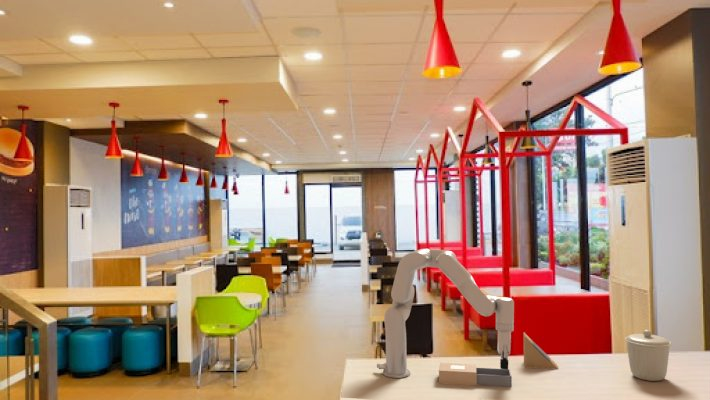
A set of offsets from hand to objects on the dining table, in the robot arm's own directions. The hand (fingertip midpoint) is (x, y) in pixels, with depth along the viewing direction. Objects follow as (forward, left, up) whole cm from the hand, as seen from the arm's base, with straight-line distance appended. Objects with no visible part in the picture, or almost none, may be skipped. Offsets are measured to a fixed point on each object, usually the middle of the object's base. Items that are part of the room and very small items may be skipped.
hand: (504, 368), depth 224 cm
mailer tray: (-5, 0, -6) cm, 8 cm away
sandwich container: (+19, +29, -7) cm, 35 cm away
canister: (+63, +19, -7) cm, 66 cm away
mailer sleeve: (-20, 0, -7) cm, 21 cm away
